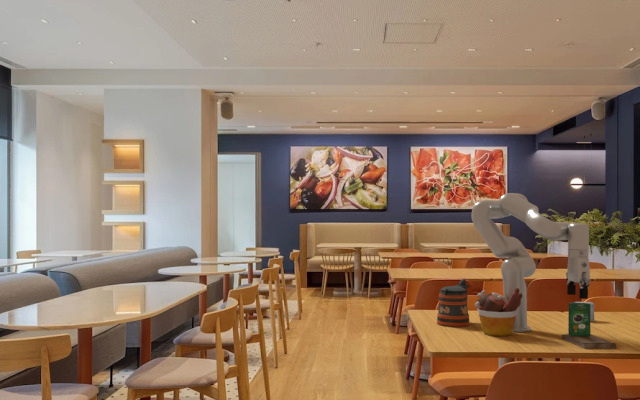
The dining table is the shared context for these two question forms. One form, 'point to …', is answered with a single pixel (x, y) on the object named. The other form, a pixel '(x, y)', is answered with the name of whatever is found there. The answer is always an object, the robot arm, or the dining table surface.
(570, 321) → the coffee box
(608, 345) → the walnut board
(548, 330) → the dining table surface
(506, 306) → the bucket of meat
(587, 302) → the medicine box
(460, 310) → the beer stein
